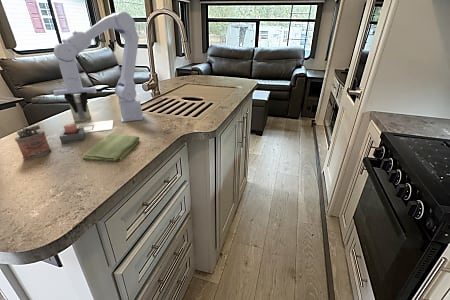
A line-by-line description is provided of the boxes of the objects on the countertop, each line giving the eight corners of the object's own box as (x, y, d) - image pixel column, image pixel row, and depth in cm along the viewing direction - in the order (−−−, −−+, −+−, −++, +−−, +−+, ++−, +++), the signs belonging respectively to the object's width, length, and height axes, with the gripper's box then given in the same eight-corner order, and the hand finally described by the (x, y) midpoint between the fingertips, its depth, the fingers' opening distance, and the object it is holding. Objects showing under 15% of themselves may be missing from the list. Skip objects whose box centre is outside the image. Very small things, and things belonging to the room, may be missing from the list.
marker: (88, 117, 100) (82, 96, 96) (84, 119, 98) (77, 98, 94) (82, 117, 101) (76, 96, 97) (77, 119, 98) (71, 97, 94)
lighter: (26, 161, 76) (14, 132, 72) (21, 159, 78) (9, 130, 73) (53, 151, 82) (43, 124, 78) (48, 149, 84) (38, 122, 80)
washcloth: (81, 162, 77) (78, 153, 75) (110, 139, 93) (109, 132, 91) (119, 164, 75) (117, 155, 74) (143, 141, 91) (141, 133, 90)
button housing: (85, 134, 96) (83, 127, 95) (83, 141, 90) (80, 133, 89) (65, 136, 94) (63, 129, 93) (61, 143, 88) (59, 136, 87)
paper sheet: (113, 120, 111) (113, 119, 111) (112, 129, 101) (112, 128, 101) (71, 125, 105) (71, 124, 105) (66, 135, 95) (66, 134, 95)
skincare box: (82, 122, 109) (74, 95, 104) (73, 121, 110) (65, 95, 104) (91, 117, 115) (84, 92, 109) (83, 117, 115) (76, 91, 110)
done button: (78, 129, 93) (76, 123, 92) (76, 132, 90) (75, 126, 89) (66, 130, 92) (65, 124, 91) (64, 134, 89) (62, 128, 87)
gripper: (93, 74, 98) (101, 107, 104) (52, 77, 93) (62, 110, 99) (91, 77, 92) (100, 111, 98) (47, 80, 87) (59, 115, 93)
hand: (81, 111), depth 98 cm, fingers closed on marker, 3 cm apart
